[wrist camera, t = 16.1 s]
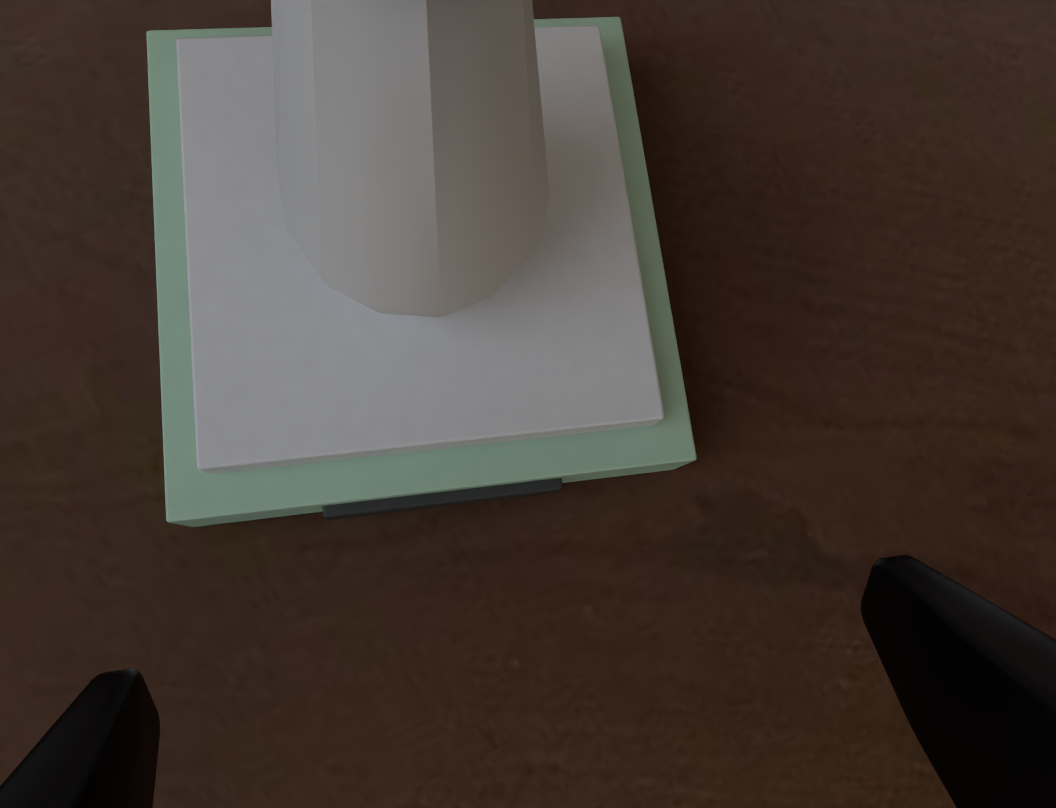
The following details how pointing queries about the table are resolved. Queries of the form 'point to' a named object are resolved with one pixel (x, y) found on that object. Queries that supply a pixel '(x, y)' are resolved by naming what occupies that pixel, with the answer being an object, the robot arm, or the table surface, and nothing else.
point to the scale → (401, 340)
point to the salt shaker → (410, 146)
